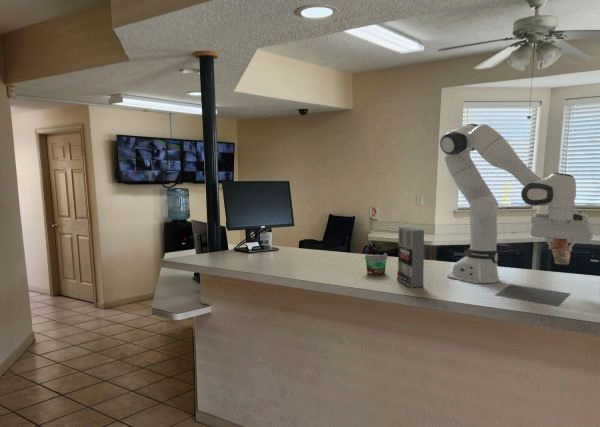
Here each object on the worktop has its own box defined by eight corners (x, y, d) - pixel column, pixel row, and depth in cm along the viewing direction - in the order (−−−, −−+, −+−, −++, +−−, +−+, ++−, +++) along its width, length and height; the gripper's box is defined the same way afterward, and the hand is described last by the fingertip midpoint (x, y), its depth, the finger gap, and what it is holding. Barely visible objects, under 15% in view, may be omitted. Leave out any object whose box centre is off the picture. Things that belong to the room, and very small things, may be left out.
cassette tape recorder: (396, 280, 190) (396, 227, 188) (408, 279, 192) (408, 226, 189) (410, 288, 177) (411, 230, 175) (423, 287, 178) (424, 230, 176)
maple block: (555, 263, 164) (551, 247, 158) (557, 254, 166) (553, 237, 160) (568, 265, 161) (564, 248, 155) (570, 256, 163) (566, 239, 157)
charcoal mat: (494, 296, 163) (494, 295, 163) (511, 285, 179) (511, 284, 179) (558, 307, 148) (558, 306, 148) (570, 294, 164) (570, 293, 164)
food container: (371, 277, 197) (371, 256, 196) (364, 274, 202) (364, 254, 202) (392, 274, 202) (392, 254, 201) (385, 272, 207) (385, 252, 207)
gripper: (529, 214, 163) (528, 248, 164) (591, 216, 149) (589, 254, 150) (533, 213, 168) (532, 246, 169) (594, 215, 154) (592, 251, 155)
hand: (560, 250), depth 159 cm, fingers closed on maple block, 4 cm apart
